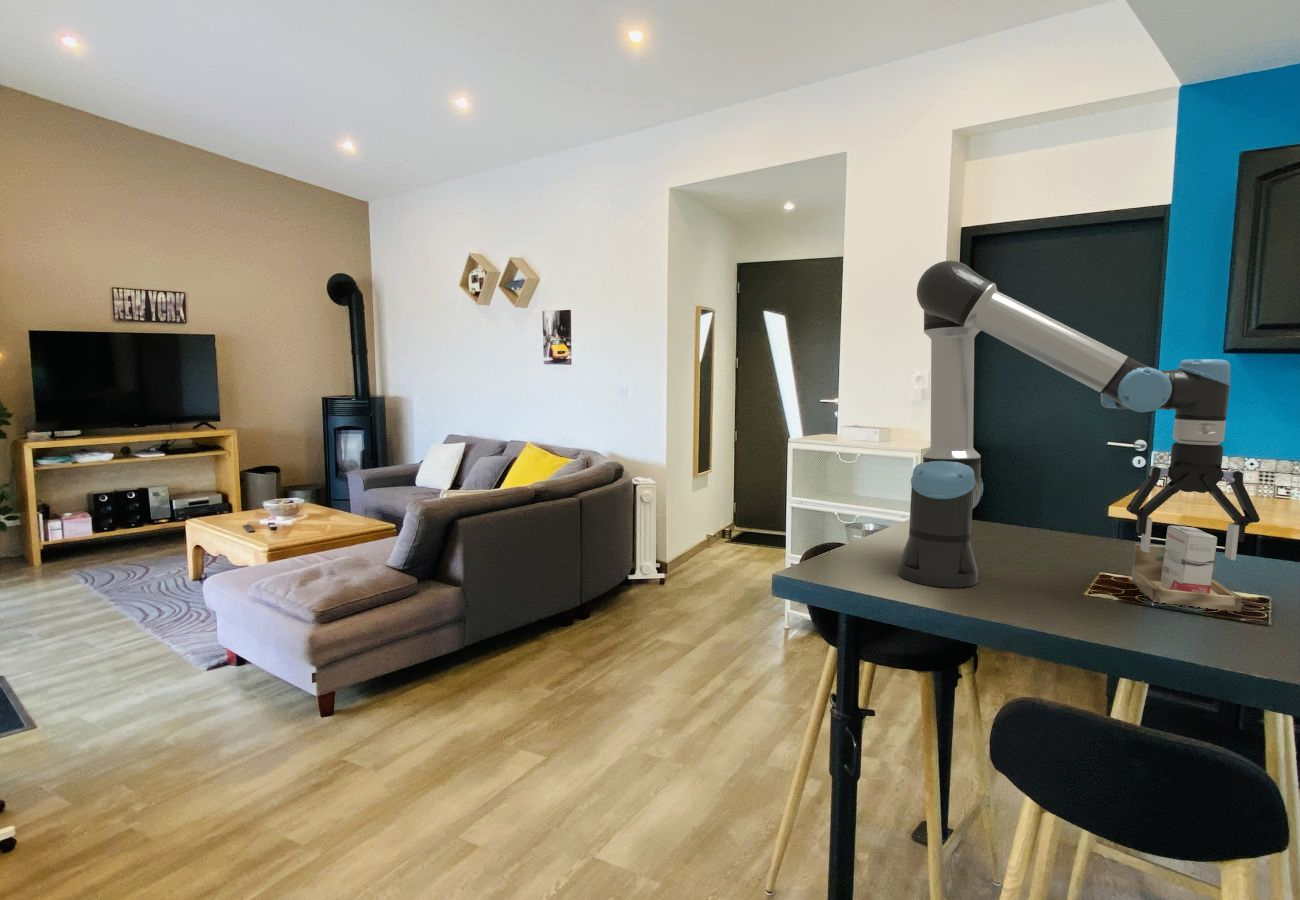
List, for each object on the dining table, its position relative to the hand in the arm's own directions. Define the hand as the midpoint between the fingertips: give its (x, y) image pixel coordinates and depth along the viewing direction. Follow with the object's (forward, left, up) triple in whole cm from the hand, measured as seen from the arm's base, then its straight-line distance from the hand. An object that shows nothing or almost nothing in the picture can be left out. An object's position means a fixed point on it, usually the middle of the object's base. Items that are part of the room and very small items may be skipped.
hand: (1186, 554), depth 129 cm
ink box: (0, 0, -7) cm, 7 cm away
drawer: (0, 0, -8) cm, 8 cm away
